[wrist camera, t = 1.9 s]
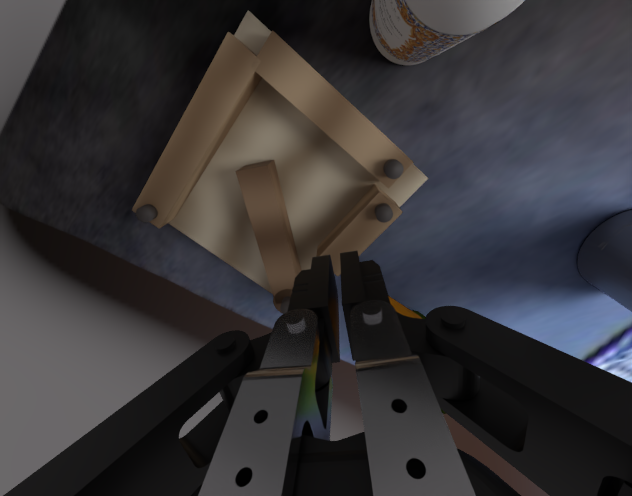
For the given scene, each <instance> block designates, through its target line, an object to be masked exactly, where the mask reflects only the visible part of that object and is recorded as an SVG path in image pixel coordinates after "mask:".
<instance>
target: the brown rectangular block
mask: <svg viewBox="0 0 632 496" xmlns="http://www.w3.org/2000/svg"><path fill="white" fill-rule="evenodd" d="M235 172H236V175H237V178H238V182H239V185H240V188H241V192H242V195H243V198H244V201H245V205H246V208H247V211H248V215H249V218H250V221H251V224H252V228H253V231H254V234H255V238H256V241H257V244H258V247H259V251H260V254H261V257H262V260H263V264H264V267H265V270H266V274H267V277H268V280H269V283H270V287H271V290H272V293H273V297H274V299H273V303H274V306H275V307H276V309H277V310H278V311H280V312H281V313H283V314H285V313H287V311H288V306H289V302H290V298H291V293H292V289H293V287H294V286H293V285H294V280H295V277H296V276H297V275H298V274H299V273H300V272H301V266H300V262H299V258H298V254H297V250H296V246H295V242H294V238H293V234H292V230H291V226H290V222H289V218H288V214H287V210H286V205H285V201H284V197H283V193H282V189H281V185H280V181H279V177H278V173H277V169H276V165H275V161H274V160H270V161H264V162H259V163H254V164H249V165H245V166H243V167H242V168H240V169H238V170H237V171H235Z"/></svg>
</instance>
